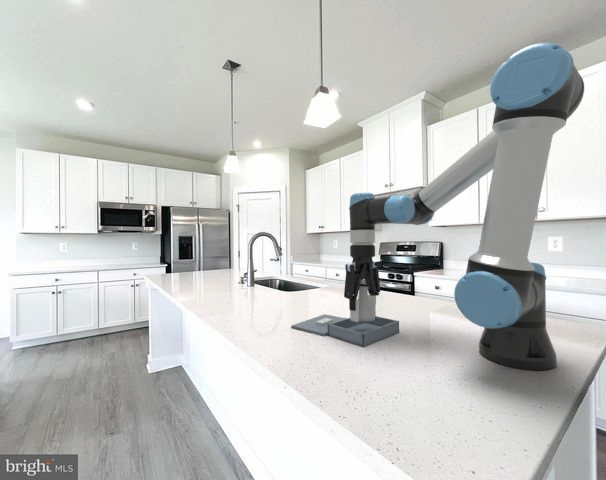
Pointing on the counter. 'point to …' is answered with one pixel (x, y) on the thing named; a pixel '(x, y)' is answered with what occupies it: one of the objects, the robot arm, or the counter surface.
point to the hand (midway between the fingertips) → (363, 318)
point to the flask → (365, 305)
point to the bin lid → (317, 324)
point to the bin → (363, 330)
